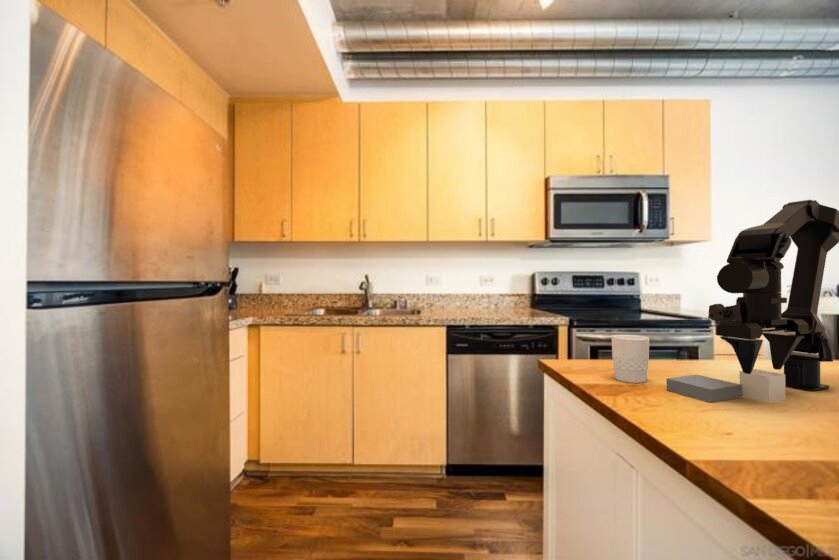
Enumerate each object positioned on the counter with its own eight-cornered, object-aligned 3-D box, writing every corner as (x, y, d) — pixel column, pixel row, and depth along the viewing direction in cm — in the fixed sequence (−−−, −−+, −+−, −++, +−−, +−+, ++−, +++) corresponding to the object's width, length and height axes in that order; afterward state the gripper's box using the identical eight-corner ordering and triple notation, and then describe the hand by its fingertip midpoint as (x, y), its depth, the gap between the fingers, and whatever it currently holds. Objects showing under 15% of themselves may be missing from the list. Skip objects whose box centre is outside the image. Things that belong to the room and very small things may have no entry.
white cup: (655, 384, 88) (655, 339, 88) (617, 383, 89) (616, 339, 89) (642, 376, 95) (642, 334, 95) (607, 374, 97) (607, 334, 97)
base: (696, 385, 86) (696, 374, 86) (742, 397, 78) (742, 384, 78) (666, 390, 83) (666, 378, 83) (710, 402, 75) (710, 389, 75)
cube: (755, 393, 81) (755, 369, 81) (785, 400, 76) (785, 374, 76) (739, 396, 79) (739, 371, 79) (769, 403, 74) (768, 376, 74)
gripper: (746, 290, 88) (747, 359, 88) (688, 292, 82) (688, 367, 82) (810, 291, 78) (810, 370, 78) (748, 293, 72) (749, 379, 72)
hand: (762, 371), depth 78 cm, fingers open, 9 cm apart
